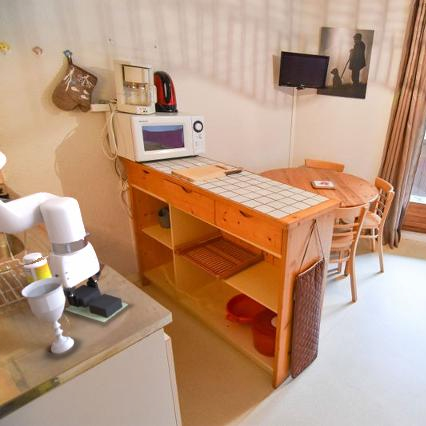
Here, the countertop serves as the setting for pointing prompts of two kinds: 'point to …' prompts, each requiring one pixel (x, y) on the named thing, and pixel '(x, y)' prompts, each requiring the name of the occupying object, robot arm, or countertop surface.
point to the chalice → (49, 307)
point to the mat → (87, 313)
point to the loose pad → (87, 294)
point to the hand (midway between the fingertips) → (85, 299)
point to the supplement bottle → (36, 268)
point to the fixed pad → (105, 305)
